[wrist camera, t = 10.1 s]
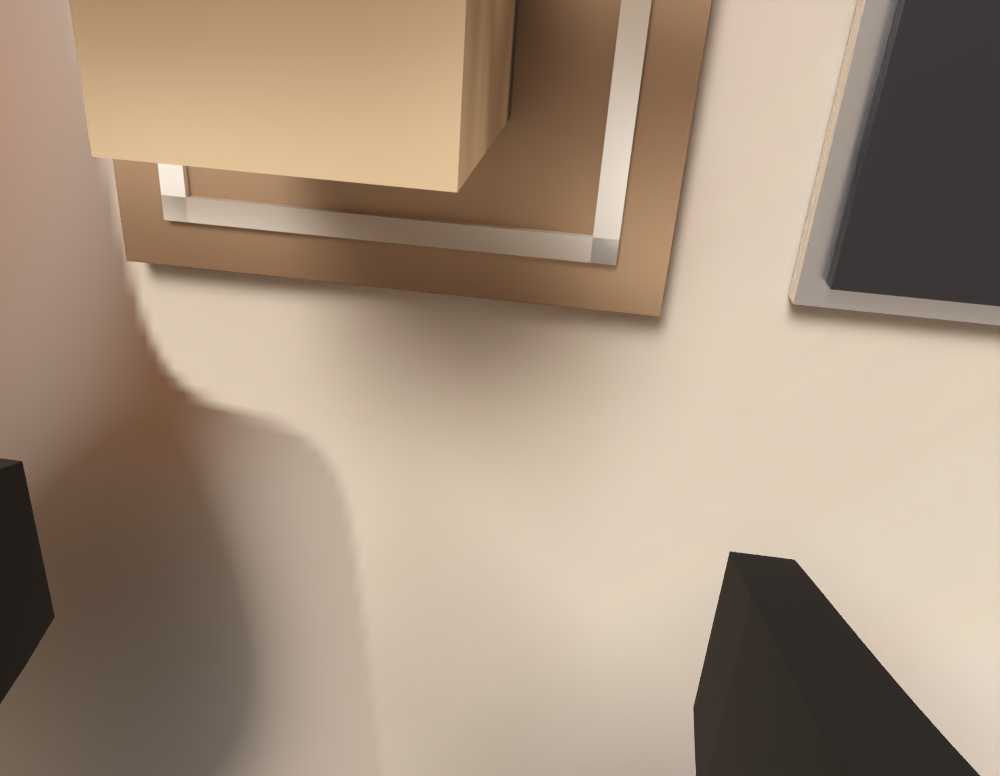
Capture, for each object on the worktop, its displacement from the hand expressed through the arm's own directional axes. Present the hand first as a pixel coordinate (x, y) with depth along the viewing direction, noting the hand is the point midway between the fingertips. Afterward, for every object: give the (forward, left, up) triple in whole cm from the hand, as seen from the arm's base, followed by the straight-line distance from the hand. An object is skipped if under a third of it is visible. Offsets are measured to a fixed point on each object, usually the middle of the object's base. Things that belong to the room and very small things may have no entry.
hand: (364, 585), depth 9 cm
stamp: (+6, +2, -9) cm, 11 cm away
